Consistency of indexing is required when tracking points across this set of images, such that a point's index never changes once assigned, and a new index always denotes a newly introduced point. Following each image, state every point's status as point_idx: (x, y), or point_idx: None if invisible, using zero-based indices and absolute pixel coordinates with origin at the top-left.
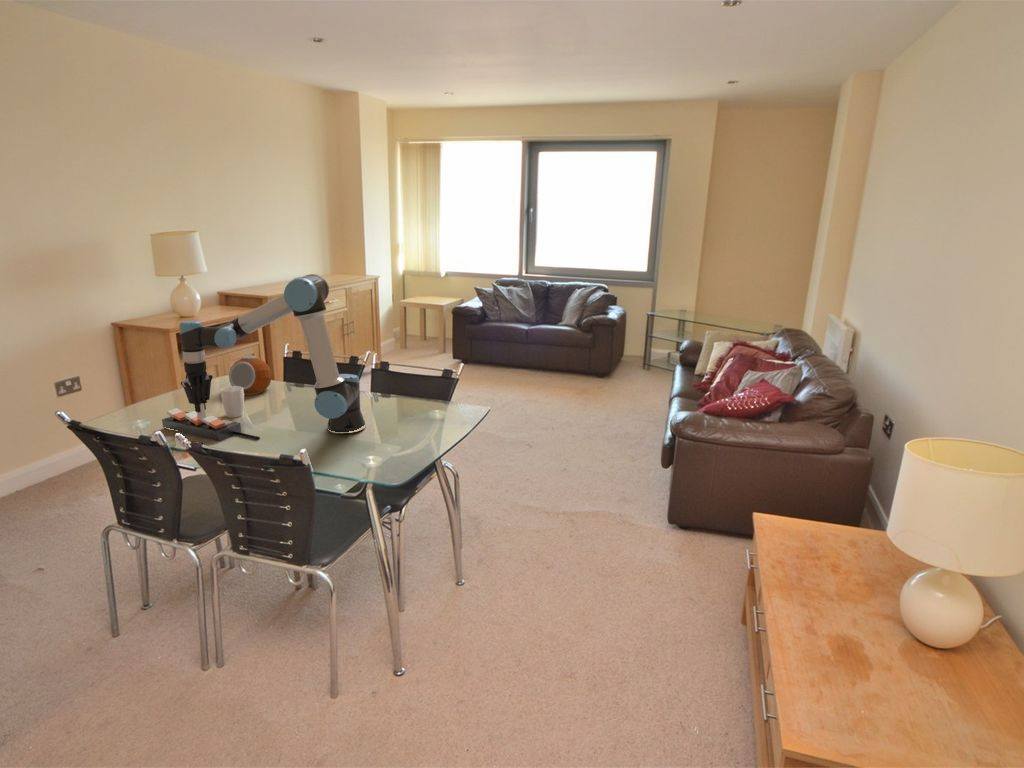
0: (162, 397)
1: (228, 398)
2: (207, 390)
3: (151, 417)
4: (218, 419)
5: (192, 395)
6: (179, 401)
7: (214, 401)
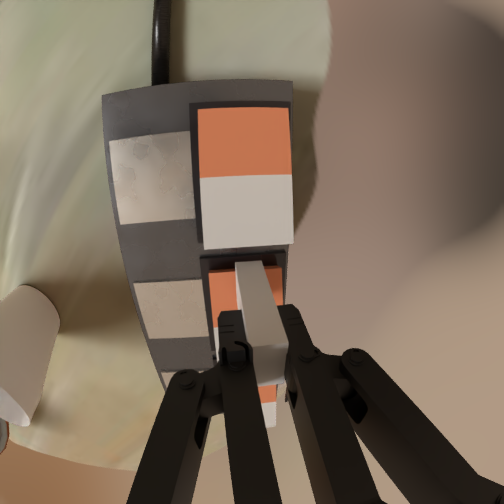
0: (136, 470)
1: (18, 362)
2: (181, 466)
3: (221, 439)
4: (206, 169)
5: (408, 419)
6: (120, 452)
7: (55, 413)
